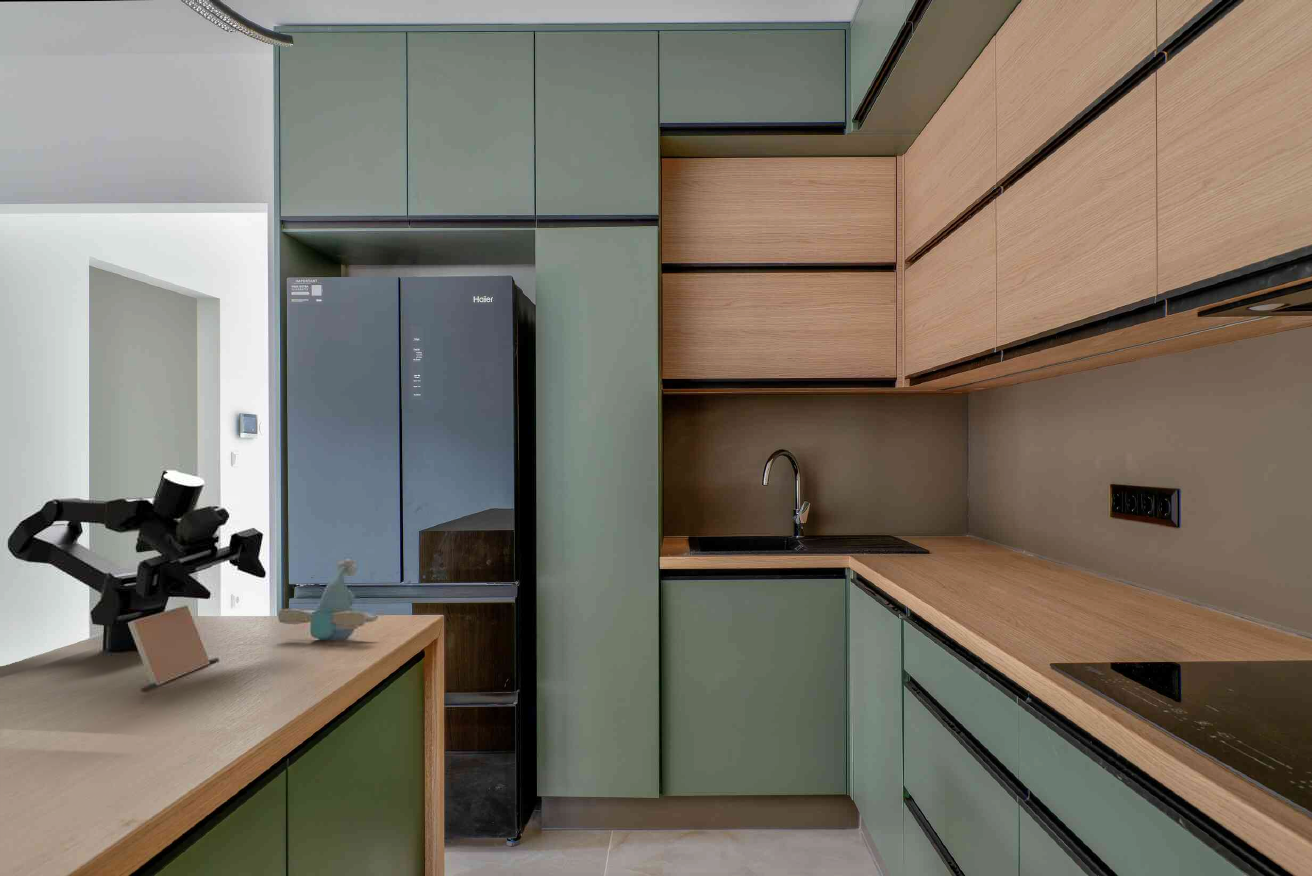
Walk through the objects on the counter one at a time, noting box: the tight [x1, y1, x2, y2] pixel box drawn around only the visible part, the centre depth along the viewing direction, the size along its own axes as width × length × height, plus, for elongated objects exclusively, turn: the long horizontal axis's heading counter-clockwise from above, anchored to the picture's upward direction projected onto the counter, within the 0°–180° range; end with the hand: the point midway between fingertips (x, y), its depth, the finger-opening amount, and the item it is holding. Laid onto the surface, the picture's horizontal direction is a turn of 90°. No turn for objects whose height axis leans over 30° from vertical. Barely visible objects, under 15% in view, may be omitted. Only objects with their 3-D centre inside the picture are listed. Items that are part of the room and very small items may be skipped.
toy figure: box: [278, 558, 379, 642], centre depth 121 cm, size 17×10×15 cm, turn 84°
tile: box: [128, 605, 211, 686], centre depth 98 cm, size 10×10×1 cm
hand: (238, 585), depth 104 cm, fingers open, 9 cm apart
